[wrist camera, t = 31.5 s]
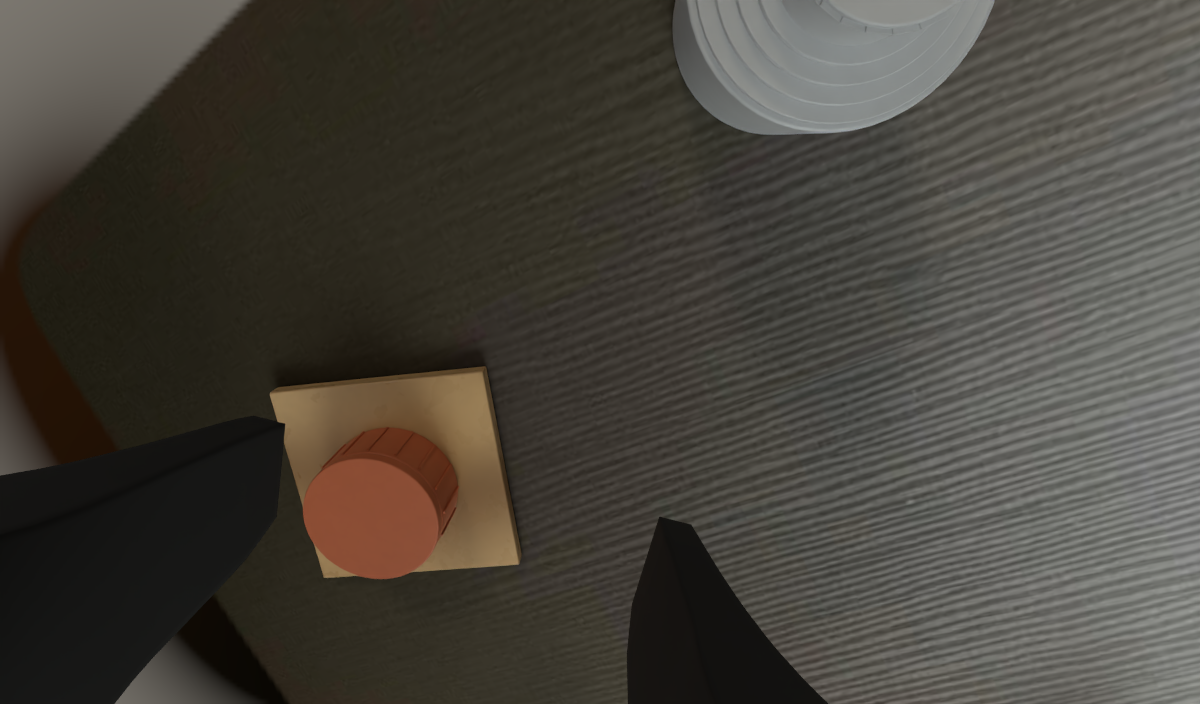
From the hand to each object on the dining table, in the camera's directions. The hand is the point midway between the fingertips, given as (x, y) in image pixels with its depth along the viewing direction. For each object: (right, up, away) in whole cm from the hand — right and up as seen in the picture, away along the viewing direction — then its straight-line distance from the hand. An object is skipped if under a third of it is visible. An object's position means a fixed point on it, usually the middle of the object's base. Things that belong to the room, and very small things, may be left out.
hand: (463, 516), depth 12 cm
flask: (+8, +12, +6) cm, 16 cm away
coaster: (-5, -1, +12) cm, 13 cm away
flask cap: (-5, -2, +9) cm, 11 cm away
